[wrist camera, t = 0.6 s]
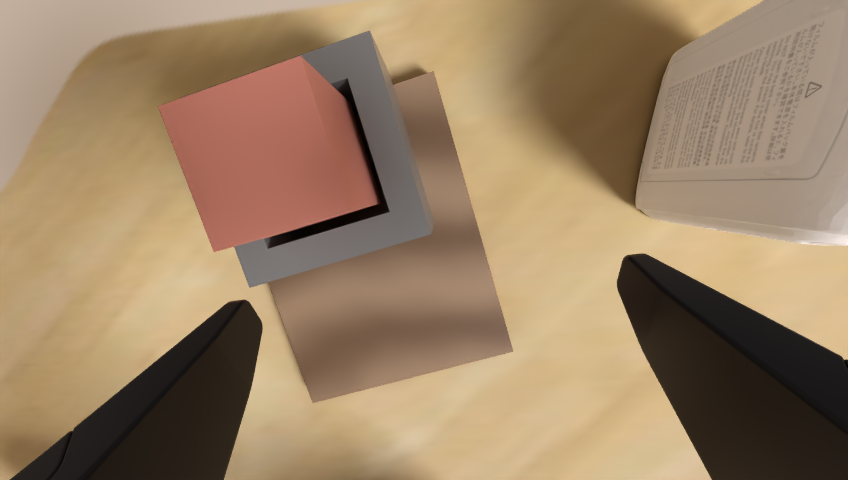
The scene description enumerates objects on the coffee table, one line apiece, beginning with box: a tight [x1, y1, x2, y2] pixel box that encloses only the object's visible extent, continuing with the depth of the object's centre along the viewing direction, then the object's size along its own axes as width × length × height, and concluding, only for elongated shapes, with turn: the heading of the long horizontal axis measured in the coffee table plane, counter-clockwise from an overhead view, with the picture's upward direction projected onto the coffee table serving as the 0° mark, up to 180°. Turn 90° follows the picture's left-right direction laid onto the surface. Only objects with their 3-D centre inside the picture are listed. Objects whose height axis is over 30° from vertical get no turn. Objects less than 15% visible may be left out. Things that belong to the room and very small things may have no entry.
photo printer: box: [635, 0, 848, 246], centre depth 15 cm, size 10×4×12 cm, turn 172°
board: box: [268, 71, 513, 403], centre depth 23 cm, size 18×14×1 cm
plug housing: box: [179, 31, 434, 288], centre depth 19 cm, size 9×9×6 cm
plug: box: [158, 56, 382, 252], centre depth 14 cm, size 5×5×6 cm
